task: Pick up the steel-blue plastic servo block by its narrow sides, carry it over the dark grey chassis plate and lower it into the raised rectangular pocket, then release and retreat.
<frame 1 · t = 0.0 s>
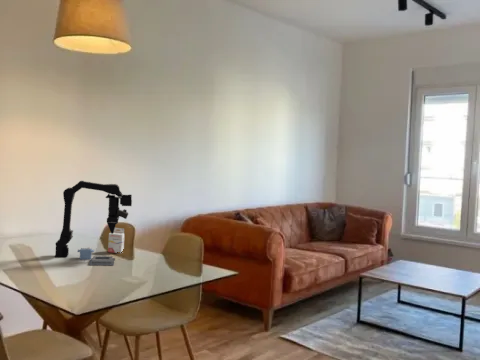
hand: (112, 232, 295), 15 cm above the table, fingers open, 9 cm apart
chassis: (102, 262, 282), on the table
ink cartridge box: (115, 252, 308), on the table
servo: (85, 258, 289), on the table
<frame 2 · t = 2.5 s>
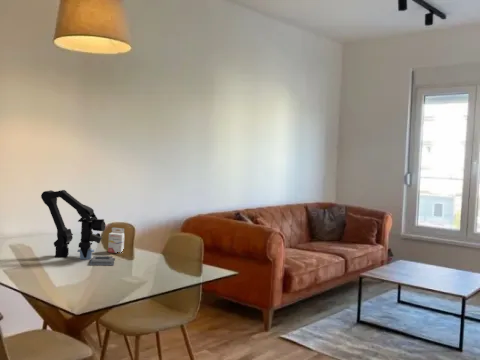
hand: (85, 256, 289), 1 cm above the table, fingers closed on servo, 4 cm apart
servo: (85, 258, 289), on the table, touching gripper
everything else where it was.
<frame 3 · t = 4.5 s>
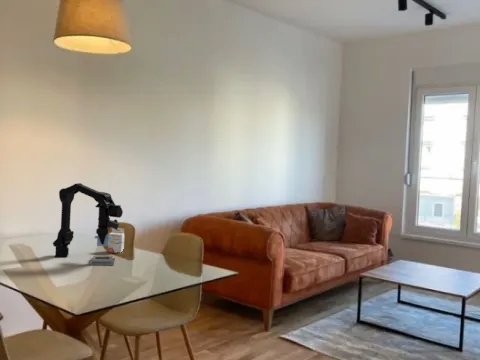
hand: (102, 243, 281), 11 cm above the table, fingers closed on servo, 4 cm apart
servo: (102, 245, 281), point 10 cm above the table, touching gripper
everything else where it was.
when the fingers open (3 cm above the table, at t = 6.5 s): servo drops 1 cm, resting on chassis.
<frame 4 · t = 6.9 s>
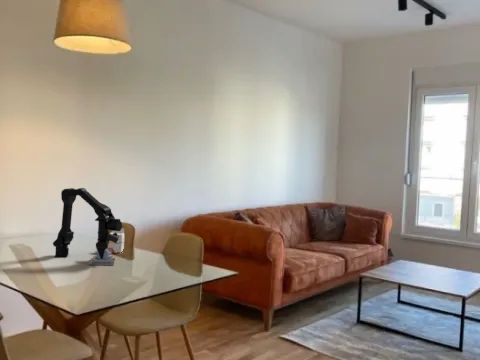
hand: (102, 256, 282), 3 cm above the table, fingers open, 8 cm apart
servo: (102, 260, 282), point 1 cm above the table, touching chassis
everything else where it was.
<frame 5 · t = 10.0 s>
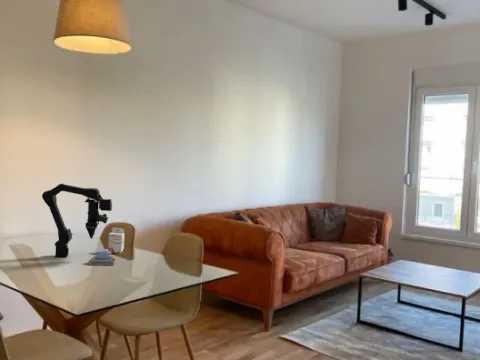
hand: (92, 236, 291), 12 cm above the table, fingers open, 9 cm apart
nothing on the table moved.
at the end: servo 0.0 cm off-centre on the chassis, point 1.0 cm above the chassis's base; servo tilted 0°; the gripper is holding nothing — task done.
